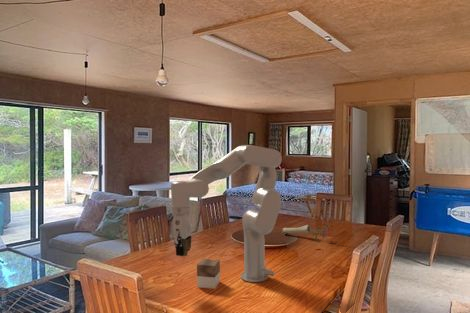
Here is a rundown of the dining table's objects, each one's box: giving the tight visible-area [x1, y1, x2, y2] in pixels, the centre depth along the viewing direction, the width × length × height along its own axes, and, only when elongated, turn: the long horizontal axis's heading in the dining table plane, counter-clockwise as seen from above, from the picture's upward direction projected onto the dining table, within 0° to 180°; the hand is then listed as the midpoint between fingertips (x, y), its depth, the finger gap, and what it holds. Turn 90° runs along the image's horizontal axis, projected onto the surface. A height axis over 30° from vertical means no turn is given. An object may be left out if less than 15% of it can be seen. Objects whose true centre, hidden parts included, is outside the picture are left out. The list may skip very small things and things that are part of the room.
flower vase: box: [282, 223, 331, 242], centre depth 229 cm, size 12×12×35 cm
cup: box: [173, 235, 192, 258], centre depth 146 cm, size 8×7×8 cm
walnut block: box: [196, 258, 221, 278], centre depth 153 cm, size 8×8×5 cm
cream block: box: [196, 271, 221, 290], centre depth 153 cm, size 8×8×5 cm
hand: (183, 252), depth 146 cm, fingers closed on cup, 6 cm apart
